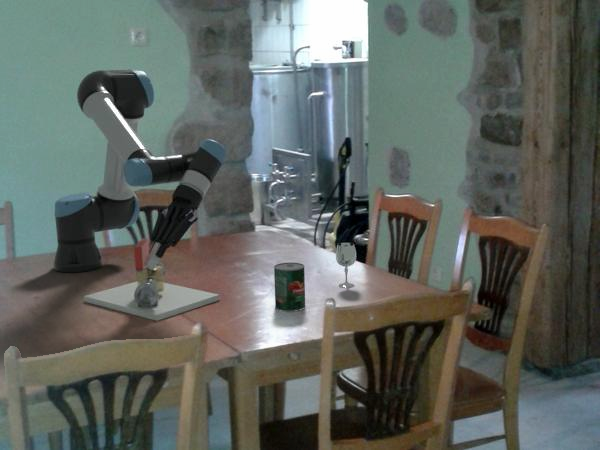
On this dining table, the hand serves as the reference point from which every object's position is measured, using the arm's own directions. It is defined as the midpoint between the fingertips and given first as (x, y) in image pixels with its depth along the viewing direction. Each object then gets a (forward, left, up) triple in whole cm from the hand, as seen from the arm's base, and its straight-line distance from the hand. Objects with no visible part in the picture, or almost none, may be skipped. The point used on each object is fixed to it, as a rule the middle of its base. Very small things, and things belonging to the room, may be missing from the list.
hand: (148, 266), depth 199 cm
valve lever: (-6, +3, -2) cm, 7 cm away
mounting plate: (-10, +8, -13) cm, 18 cm away
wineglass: (+25, +50, -13) cm, 58 cm away
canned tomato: (+25, +25, -13) cm, 38 cm away
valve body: (-10, +8, -11) cm, 17 cm away
